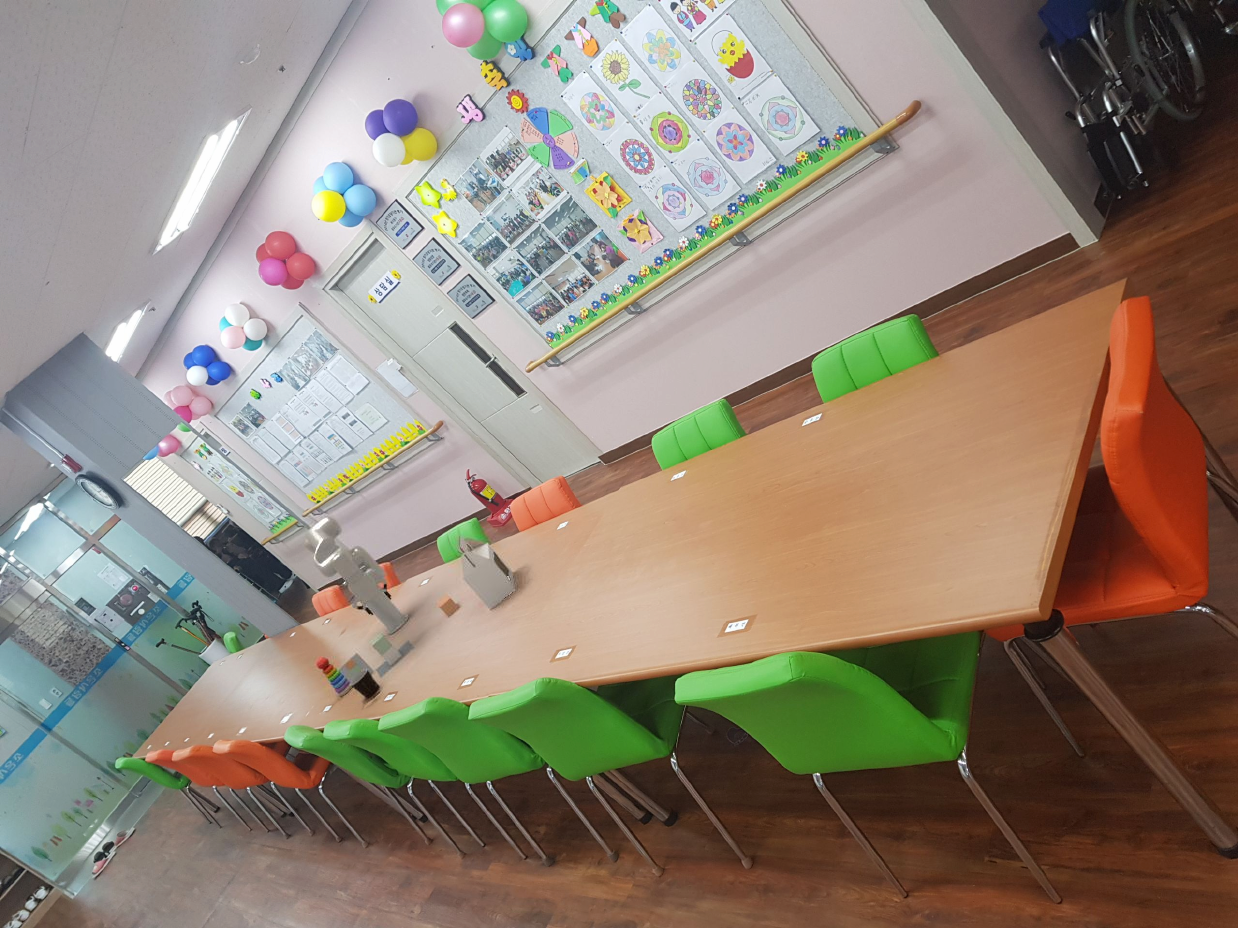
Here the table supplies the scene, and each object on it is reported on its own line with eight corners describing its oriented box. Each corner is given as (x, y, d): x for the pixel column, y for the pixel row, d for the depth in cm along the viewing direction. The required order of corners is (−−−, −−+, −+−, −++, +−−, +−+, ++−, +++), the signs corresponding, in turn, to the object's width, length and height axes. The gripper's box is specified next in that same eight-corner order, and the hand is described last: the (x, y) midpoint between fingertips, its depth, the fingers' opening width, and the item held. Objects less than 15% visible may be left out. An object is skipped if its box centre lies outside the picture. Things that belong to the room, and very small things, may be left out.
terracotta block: (445, 613, 365) (436, 603, 363) (455, 604, 366) (446, 594, 365) (448, 617, 357) (439, 607, 356) (459, 607, 359) (450, 597, 357)
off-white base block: (387, 661, 355) (378, 651, 353) (398, 651, 356) (389, 641, 355) (390, 665, 347) (381, 655, 346) (401, 655, 349) (392, 645, 347)
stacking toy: (349, 692, 356) (319, 662, 351) (336, 699, 359) (307, 669, 354) (357, 680, 363) (328, 650, 358) (345, 687, 366) (316, 657, 361)
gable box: (488, 591, 353) (447, 542, 345) (513, 572, 353) (472, 523, 345) (490, 610, 331) (446, 559, 324) (516, 590, 332) (472, 539, 324)
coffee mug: (368, 693, 339) (352, 677, 336) (385, 682, 338) (369, 665, 335) (362, 710, 328) (345, 692, 325) (379, 698, 327) (362, 680, 324)
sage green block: (378, 651, 353) (369, 641, 351) (389, 641, 355) (380, 631, 353) (381, 655, 346) (372, 645, 344) (392, 645, 347) (383, 635, 346)
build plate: (377, 671, 356) (375, 669, 355) (410, 642, 361) (408, 640, 361) (382, 679, 343) (380, 677, 343) (416, 649, 349) (414, 647, 348)
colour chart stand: (356, 688, 355) (337, 668, 352) (374, 671, 358) (355, 651, 355) (357, 690, 351) (338, 670, 348) (376, 673, 355) (357, 653, 351)
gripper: (338, 593, 339) (366, 622, 343) (372, 564, 343) (398, 594, 348) (337, 589, 346) (364, 618, 350) (370, 562, 350) (396, 591, 355)
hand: (381, 606), depth 349 cm, fingers open, 9 cm apart
